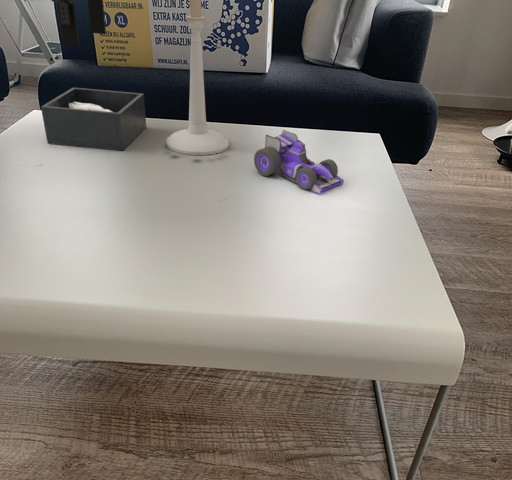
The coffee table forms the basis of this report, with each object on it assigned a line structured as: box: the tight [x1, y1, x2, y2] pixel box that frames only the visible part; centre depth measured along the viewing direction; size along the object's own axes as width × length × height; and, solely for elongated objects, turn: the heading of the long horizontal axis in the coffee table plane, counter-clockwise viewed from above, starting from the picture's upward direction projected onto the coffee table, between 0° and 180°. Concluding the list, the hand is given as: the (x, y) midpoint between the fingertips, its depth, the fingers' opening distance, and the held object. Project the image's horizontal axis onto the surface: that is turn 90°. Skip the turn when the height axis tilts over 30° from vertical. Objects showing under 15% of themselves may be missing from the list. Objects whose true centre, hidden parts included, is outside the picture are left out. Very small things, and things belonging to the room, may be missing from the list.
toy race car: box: [253, 129, 345, 195], centre depth 99 cm, size 10×15×6 cm, turn 46°
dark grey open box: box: [40, 87, 147, 152], centre depth 112 cm, size 16×16×7 cm
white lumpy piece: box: [69, 102, 112, 112], centre depth 112 cm, size 5×7×10 cm
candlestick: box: [165, 0, 230, 156], centre depth 103 cm, size 13×13×30 cm
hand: (85, 39), depth 103 cm, fingers open, 13 cm apart
